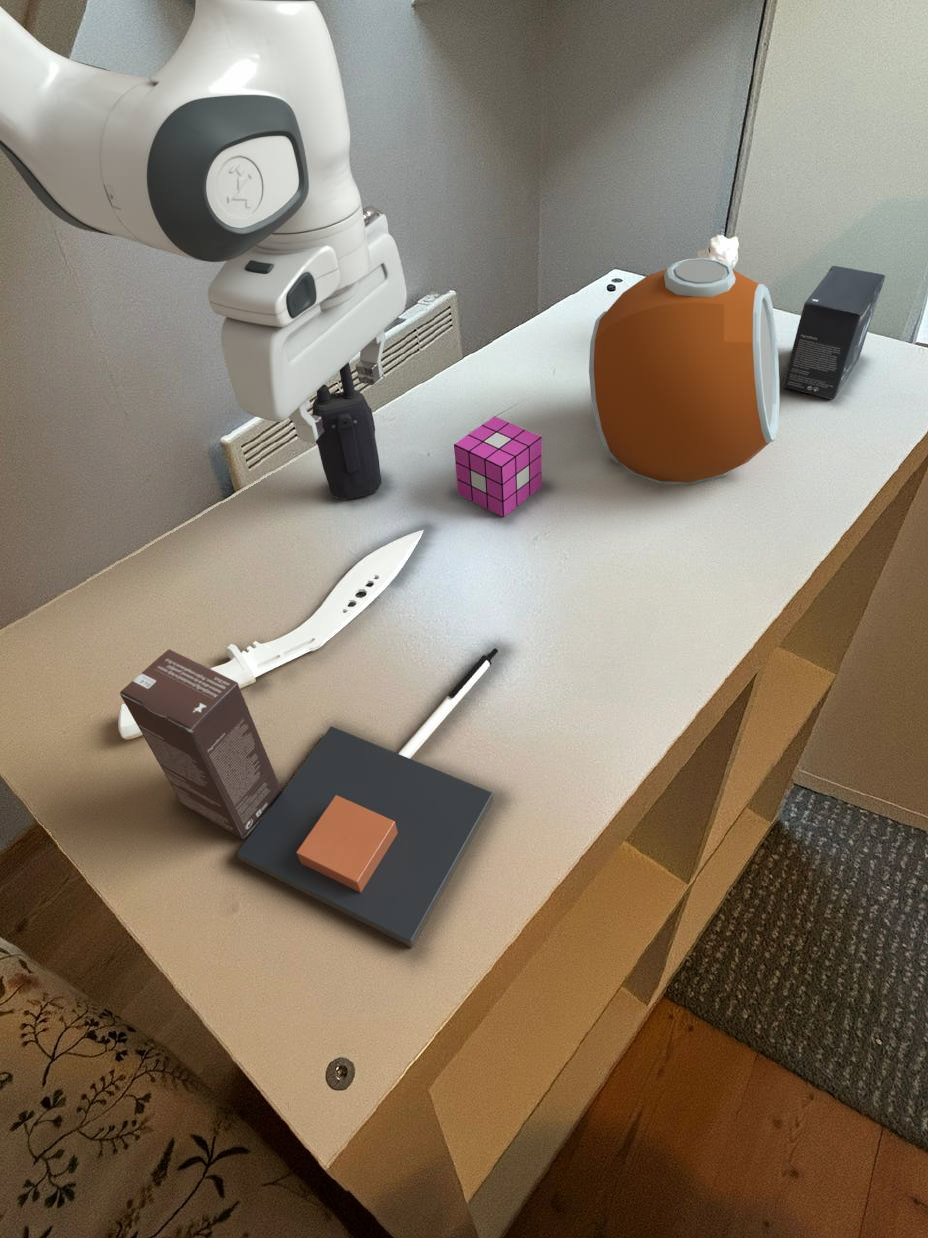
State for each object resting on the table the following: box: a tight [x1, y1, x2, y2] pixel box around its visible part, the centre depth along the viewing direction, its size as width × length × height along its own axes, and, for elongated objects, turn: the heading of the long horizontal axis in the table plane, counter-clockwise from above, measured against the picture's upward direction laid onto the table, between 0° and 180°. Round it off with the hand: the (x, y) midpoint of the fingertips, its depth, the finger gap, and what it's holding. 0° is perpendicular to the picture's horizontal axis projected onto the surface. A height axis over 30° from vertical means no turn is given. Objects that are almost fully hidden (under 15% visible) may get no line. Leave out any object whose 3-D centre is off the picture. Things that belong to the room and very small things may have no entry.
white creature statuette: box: [696, 234, 740, 270], centre depth 89 cm, size 10×9×12 cm
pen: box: [397, 647, 499, 759], centre depth 59 cm, size 1×19×1 cm, turn 145°
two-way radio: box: [312, 361, 382, 500], centre depth 73 cm, size 6×4×15 cm
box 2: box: [782, 265, 886, 400], centre depth 84 cm, size 9×6×10 cm, turn 147°
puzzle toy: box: [453, 415, 543, 518], centre depth 76 cm, size 6×6×6 cm
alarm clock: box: [588, 257, 780, 485], centre depth 74 cm, size 19×18×17 cm
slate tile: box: [236, 725, 494, 949], centre depth 54 cm, size 13×11×1 cm
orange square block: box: [296, 795, 398, 893], centre depth 52 cm, size 4×4×2 cm
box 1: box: [119, 649, 283, 840], centre depth 52 cm, size 6×4×12 cm
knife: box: [117, 529, 425, 740], centre depth 67 cm, size 30×2×8 cm
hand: (342, 407), depth 72 cm, fingers open, 8 cm apart
